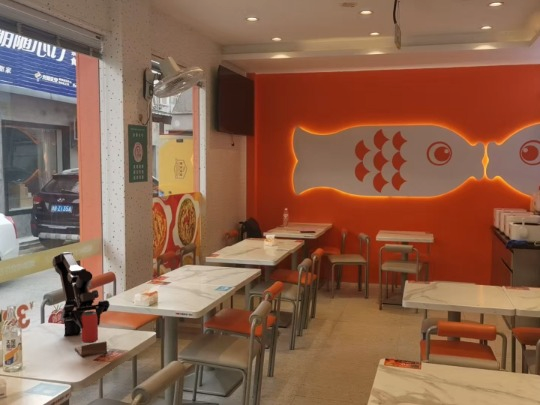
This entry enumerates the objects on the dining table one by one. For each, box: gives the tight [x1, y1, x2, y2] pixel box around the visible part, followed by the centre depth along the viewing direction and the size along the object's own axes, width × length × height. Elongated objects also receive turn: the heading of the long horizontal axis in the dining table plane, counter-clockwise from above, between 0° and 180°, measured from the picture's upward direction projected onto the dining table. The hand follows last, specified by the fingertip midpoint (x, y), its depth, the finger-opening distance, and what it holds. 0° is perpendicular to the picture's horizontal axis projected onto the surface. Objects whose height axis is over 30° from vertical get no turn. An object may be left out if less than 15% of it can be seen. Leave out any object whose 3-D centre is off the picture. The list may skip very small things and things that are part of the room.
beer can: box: [80, 310, 99, 344], centre depth 230 cm, size 7×7×12 cm
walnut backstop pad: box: [74, 340, 108, 358], centre depth 230 cm, size 11×10×4 cm
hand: (90, 326), depth 229 cm, fingers closed on beer can, 7 cm apart
